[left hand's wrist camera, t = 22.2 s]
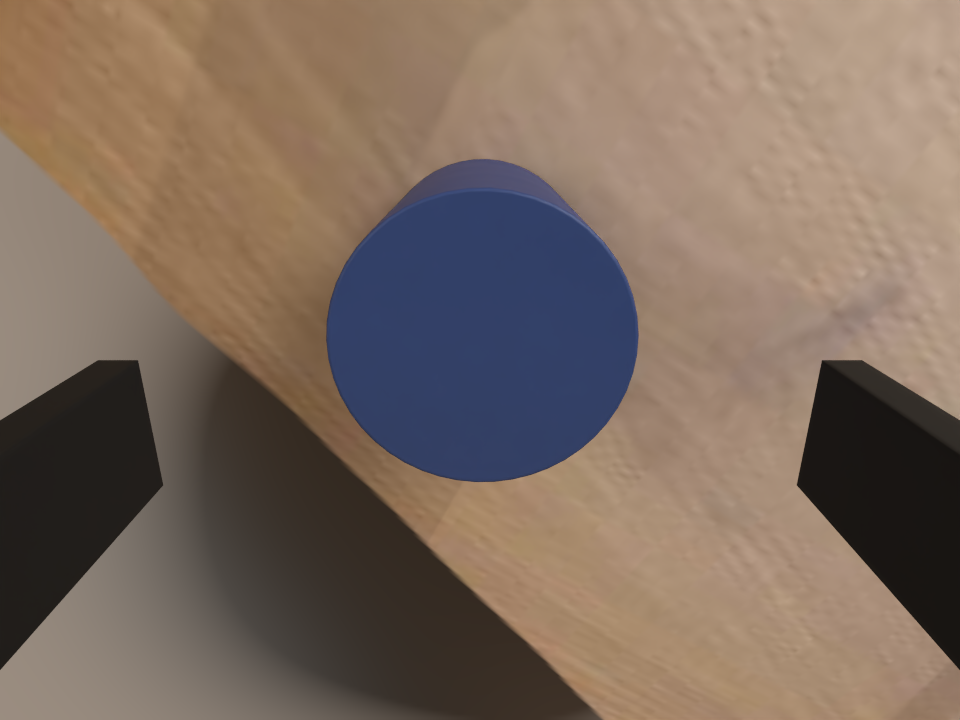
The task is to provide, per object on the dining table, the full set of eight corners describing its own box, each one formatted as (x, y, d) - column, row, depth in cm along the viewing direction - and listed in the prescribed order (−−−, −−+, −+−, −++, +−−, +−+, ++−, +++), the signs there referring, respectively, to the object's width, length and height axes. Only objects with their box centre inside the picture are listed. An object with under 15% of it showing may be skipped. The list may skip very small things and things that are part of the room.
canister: (508, 115, 23) (526, 115, 13) (616, 284, 25) (695, 384, 16) (345, 236, 24) (259, 311, 15) (459, 385, 27) (447, 530, 17)
